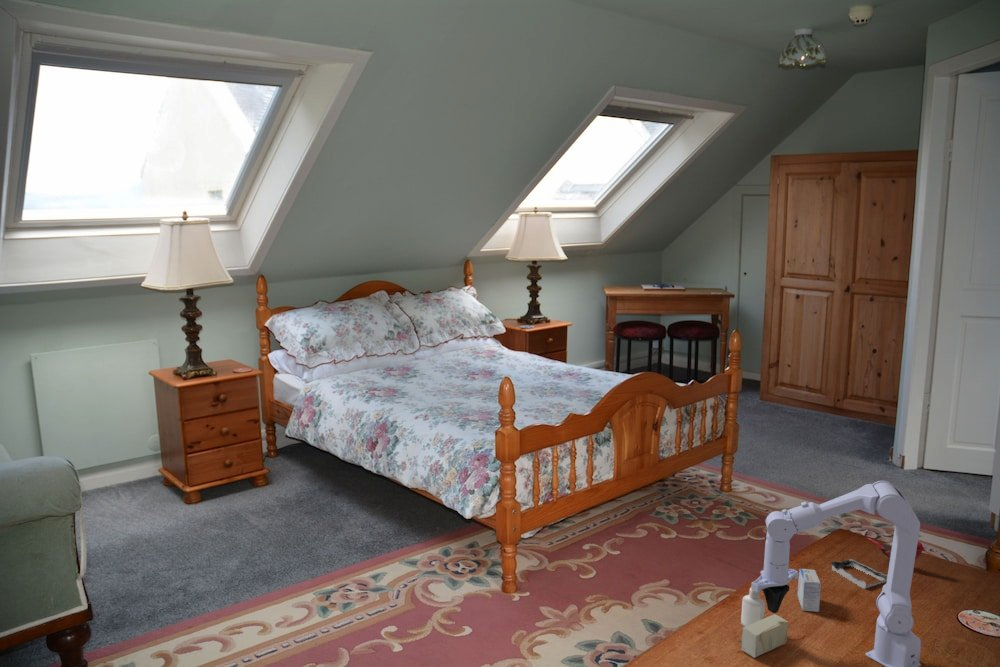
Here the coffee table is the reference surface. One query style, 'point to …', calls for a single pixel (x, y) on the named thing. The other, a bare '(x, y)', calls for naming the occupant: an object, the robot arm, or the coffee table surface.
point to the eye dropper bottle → (752, 608)
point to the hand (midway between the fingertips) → (772, 610)
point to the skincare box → (764, 635)
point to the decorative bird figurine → (887, 548)
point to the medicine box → (809, 590)
